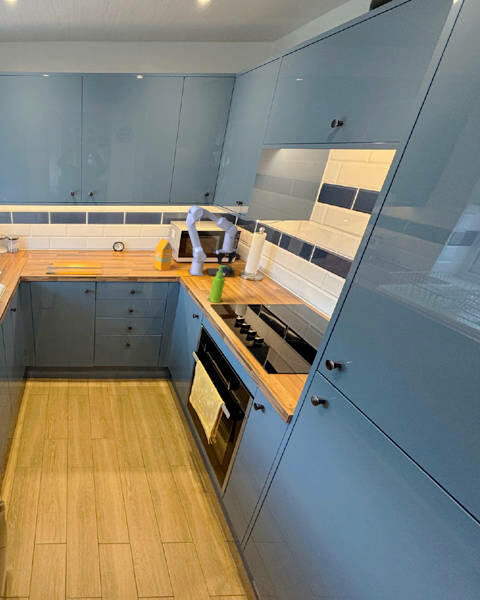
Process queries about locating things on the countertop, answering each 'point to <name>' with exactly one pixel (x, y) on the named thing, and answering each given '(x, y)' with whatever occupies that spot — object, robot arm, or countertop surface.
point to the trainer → (225, 268)
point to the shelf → (228, 274)
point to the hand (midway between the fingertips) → (224, 263)
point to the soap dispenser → (217, 285)
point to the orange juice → (163, 255)
